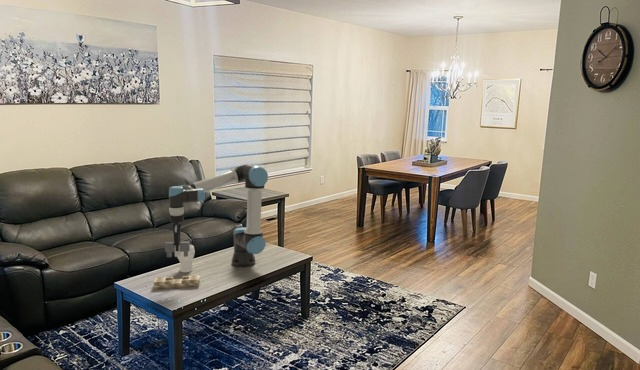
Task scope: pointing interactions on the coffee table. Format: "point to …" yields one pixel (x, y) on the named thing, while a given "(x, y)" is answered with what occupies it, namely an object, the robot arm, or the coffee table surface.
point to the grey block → (183, 248)
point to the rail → (176, 282)
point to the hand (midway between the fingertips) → (177, 255)
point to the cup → (187, 260)
